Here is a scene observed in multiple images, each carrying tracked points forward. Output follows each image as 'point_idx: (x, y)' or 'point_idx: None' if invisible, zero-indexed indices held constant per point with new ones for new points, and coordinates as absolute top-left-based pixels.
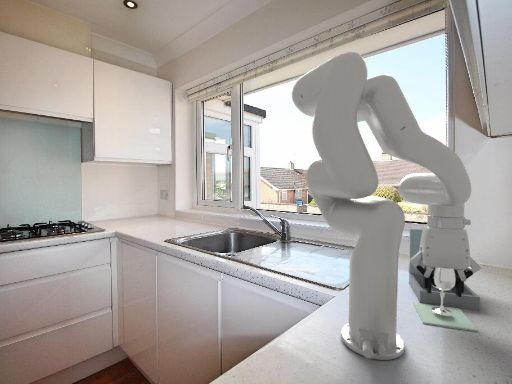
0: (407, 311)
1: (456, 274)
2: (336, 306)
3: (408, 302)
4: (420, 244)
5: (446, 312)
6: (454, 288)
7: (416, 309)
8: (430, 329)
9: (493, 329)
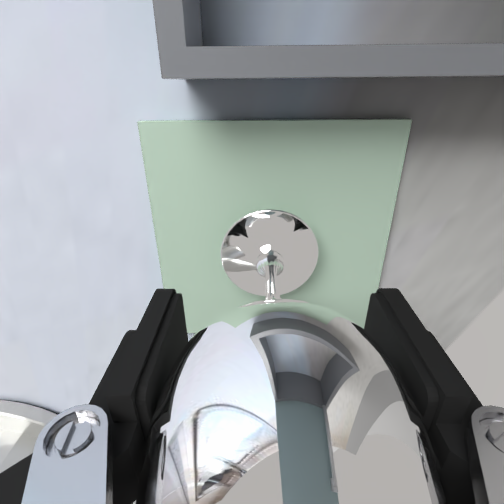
0: (110, 237)
1: (473, 458)
2: None
3: (112, 103)
4: None
5: (284, 278)
6: (381, 326)
7: (153, 214)
8: None
9: (450, 292)
